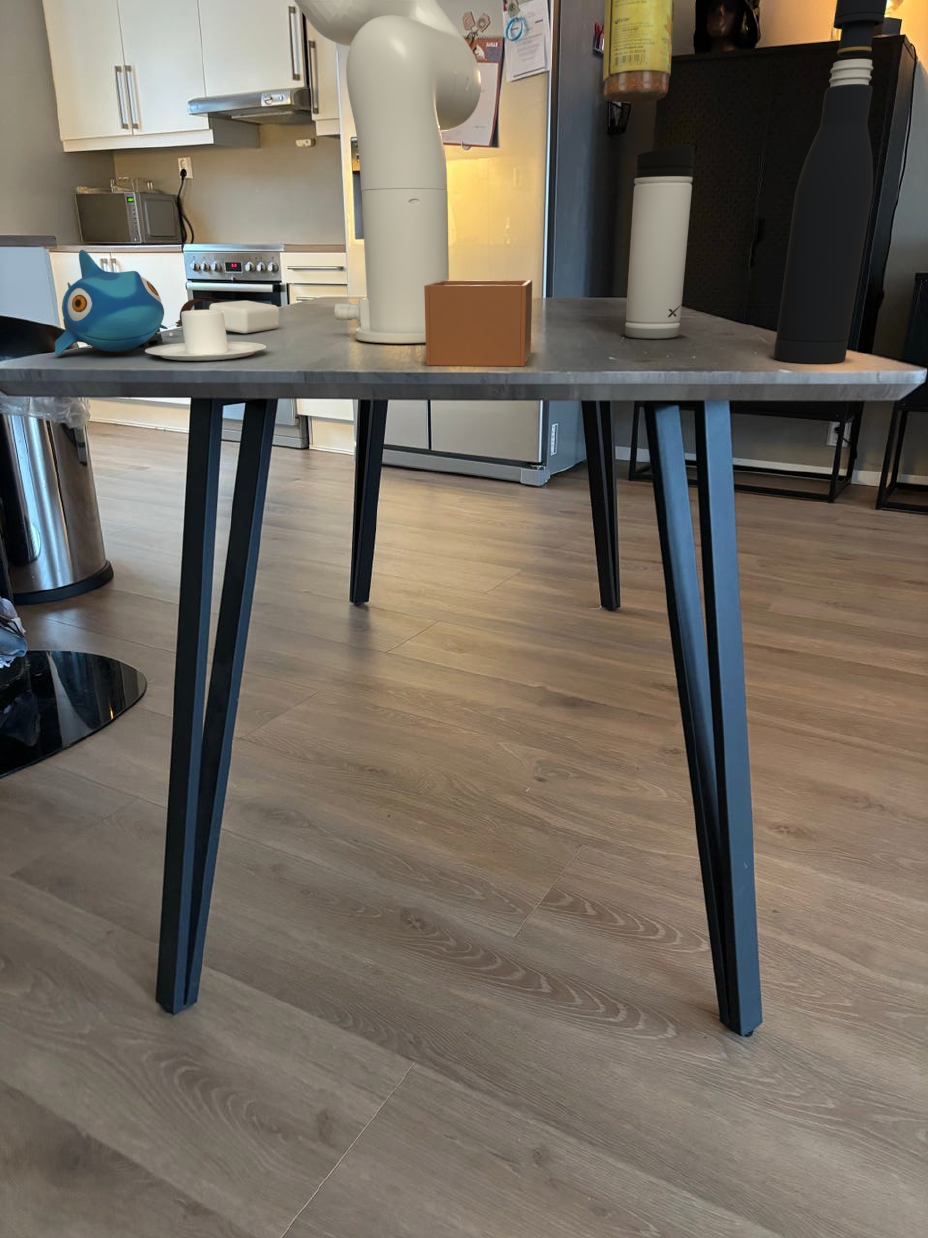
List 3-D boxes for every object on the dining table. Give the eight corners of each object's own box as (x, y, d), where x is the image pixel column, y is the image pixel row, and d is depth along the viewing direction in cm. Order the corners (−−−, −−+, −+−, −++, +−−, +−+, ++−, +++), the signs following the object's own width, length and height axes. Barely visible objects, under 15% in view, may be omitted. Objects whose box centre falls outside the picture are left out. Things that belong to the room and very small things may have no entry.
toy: (84, 366, 83) (45, 254, 78) (34, 360, 96) (-2, 264, 92) (201, 338, 89) (172, 232, 85) (139, 336, 102) (110, 245, 98)
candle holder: (263, 361, 85) (259, 314, 83) (135, 364, 83) (128, 317, 81) (269, 347, 96) (265, 305, 94) (156, 350, 94) (150, 307, 92)
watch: (174, 333, 110) (196, 342, 108) (176, 295, 107) (198, 304, 106) (216, 327, 116) (237, 336, 115) (219, 291, 113) (241, 300, 112)
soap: (206, 302, 108) (206, 327, 109) (246, 309, 106) (245, 334, 108) (244, 299, 115) (244, 322, 117) (281, 305, 114) (280, 329, 116)
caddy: (426, 365, 81) (424, 285, 78) (441, 352, 90) (440, 280, 87) (524, 366, 80) (525, 285, 77) (530, 353, 89) (532, 280, 86)
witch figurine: (222, 318, 117) (216, 304, 116) (190, 330, 106) (183, 315, 106) (186, 330, 118) (180, 316, 117) (151, 343, 107) (144, 328, 107)
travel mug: (686, 339, 99) (704, 140, 91) (629, 339, 100) (641, 141, 91) (675, 333, 105) (691, 145, 97) (621, 333, 105) (632, 146, 97)
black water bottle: (781, 363, 80) (834, -32, 68) (767, 354, 86) (814, -11, 74) (853, 364, 80) (920, -36, 67) (834, 355, 85) (893, -14, 73)
